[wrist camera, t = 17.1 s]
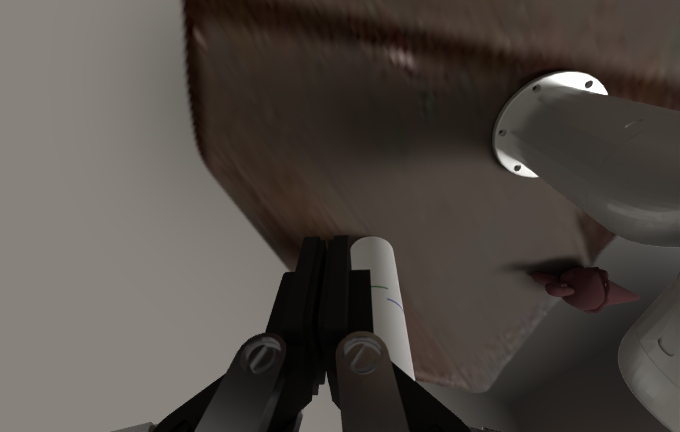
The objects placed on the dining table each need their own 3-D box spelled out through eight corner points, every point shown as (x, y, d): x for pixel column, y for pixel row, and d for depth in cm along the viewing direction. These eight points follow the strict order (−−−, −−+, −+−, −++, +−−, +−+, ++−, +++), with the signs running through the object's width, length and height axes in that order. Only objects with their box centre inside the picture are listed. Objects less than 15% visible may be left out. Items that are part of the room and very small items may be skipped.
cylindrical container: (375, 276, 50) (389, 452, 29) (341, 257, 49) (328, 430, 27) (402, 250, 47) (440, 425, 26) (366, 228, 45) (375, 398, 24)
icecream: (672, 288, 40) (560, 270, 41) (649, 333, 42) (543, 314, 43) (630, 266, 47) (534, 250, 48) (611, 305, 49) (520, 290, 50)
